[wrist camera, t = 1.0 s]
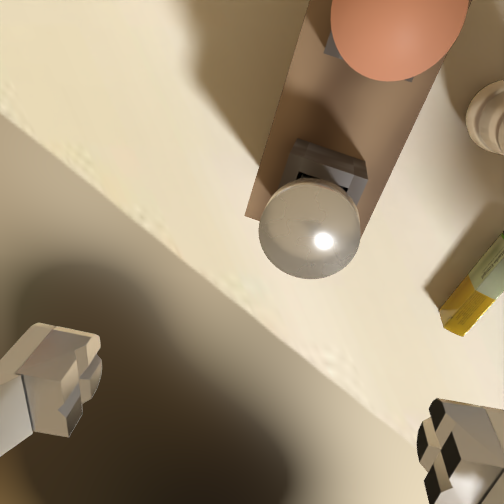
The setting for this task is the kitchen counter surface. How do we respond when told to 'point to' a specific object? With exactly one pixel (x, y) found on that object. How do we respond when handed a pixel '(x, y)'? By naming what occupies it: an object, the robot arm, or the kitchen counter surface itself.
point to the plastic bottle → (487, 118)
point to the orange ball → (395, 34)
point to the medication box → (475, 291)
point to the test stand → (337, 121)
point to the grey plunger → (310, 228)
